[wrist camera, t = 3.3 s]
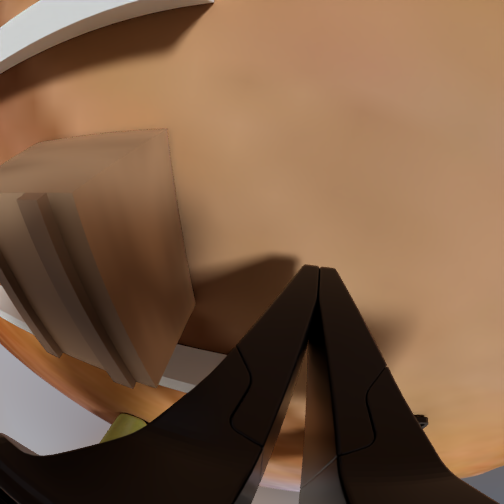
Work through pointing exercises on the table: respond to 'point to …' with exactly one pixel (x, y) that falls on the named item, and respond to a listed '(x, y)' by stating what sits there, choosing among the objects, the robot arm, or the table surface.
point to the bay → (55, 32)
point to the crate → (97, 250)
